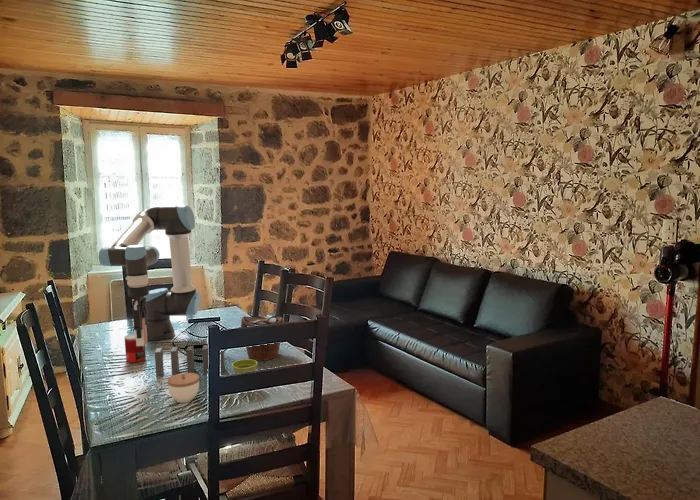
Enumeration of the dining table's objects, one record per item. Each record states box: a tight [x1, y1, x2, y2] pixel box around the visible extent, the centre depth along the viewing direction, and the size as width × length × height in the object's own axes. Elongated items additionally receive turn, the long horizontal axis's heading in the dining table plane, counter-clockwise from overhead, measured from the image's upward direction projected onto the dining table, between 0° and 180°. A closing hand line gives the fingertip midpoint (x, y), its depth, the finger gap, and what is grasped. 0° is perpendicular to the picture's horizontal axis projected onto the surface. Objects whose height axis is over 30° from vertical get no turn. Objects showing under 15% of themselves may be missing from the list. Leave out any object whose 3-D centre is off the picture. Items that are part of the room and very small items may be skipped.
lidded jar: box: [167, 372, 200, 403], centre depth 187 cm, size 11×11×9 cm
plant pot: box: [231, 358, 258, 374], centre depth 198 cm, size 9×9×9 cm
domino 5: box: [201, 344, 209, 374], centre depth 213 cm, size 5×2×10 cm, turn 9°
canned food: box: [124, 333, 147, 365], centre depth 225 cm, size 8×8×11 cm
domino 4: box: [186, 345, 196, 373], centre depth 212 cm, size 5×2×10 cm, turn 9°
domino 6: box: [220, 350, 226, 373], centre depth 214 cm, size 5×2×10 cm, turn 10°
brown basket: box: [240, 315, 285, 361], centre depth 230 cm, size 18×20×18 cm
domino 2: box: [154, 347, 165, 378], centre depth 210 cm, size 5×2×10 cm, turn 10°
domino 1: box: [142, 318, 148, 346], centre depth 207 cm, size 5×2×10 cm, turn 10°
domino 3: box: [170, 346, 180, 376], centre depth 211 cm, size 5×2×10 cm, turn 9°
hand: (142, 343), depth 208 cm, fingers closed on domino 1, 5 cm apart
